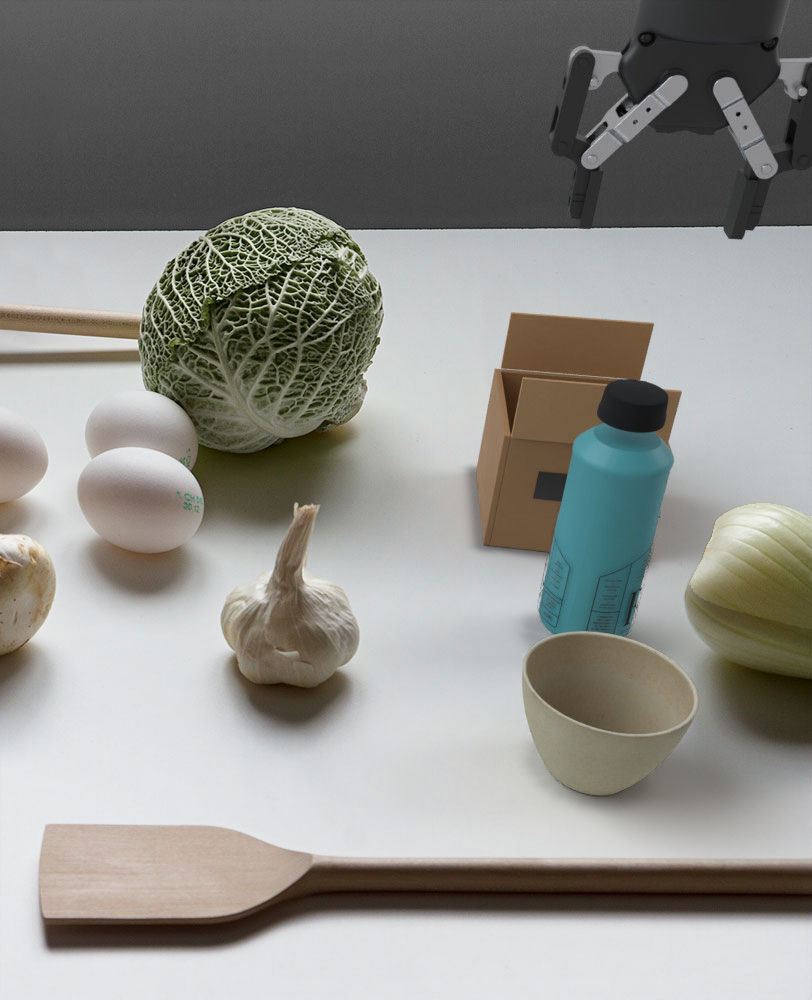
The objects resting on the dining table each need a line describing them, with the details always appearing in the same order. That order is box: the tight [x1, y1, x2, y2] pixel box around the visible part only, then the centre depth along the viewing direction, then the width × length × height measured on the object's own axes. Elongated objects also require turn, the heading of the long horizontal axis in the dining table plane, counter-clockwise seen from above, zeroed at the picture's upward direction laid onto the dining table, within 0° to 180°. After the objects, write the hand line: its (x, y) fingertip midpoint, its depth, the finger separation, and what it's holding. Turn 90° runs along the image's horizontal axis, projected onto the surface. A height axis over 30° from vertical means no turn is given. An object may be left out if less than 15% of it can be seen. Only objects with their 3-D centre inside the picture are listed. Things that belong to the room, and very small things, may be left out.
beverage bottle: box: [537, 378, 675, 638], centre depth 88 cm, size 6×7×20 cm
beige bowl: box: [521, 631, 700, 796], centre depth 80 cm, size 10×10×7 cm
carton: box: [475, 311, 682, 553], centre depth 104 cm, size 12×13×15 cm
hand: (656, 230), depth 78 cm, fingers open, 8 cm apart
